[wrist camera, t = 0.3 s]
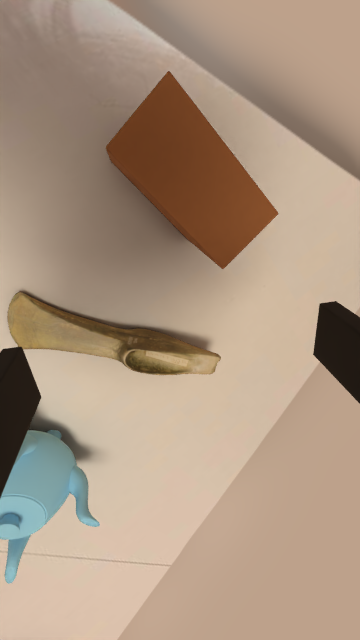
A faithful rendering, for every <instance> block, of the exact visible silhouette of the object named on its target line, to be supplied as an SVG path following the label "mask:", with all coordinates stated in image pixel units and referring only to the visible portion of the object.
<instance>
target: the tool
mask: <svg viewBox="0 0 360 640" xmlns="http://www.w3.org/2000/svg"><path fill="white" fill-rule="evenodd" d="M7 318H8V324H9V329H10V333H11V335H12V337H13V339H14V341H15V342H16V343H17V345H18V347H22V349H52V350H61V351H69V352H77V353H84V354H90V355H96V356H101V357H108V358H112V359H115V360H118V361H120V362H122V363H123V364H124V365H125V366H126V367H128V368H129V369H131V370H133V371H137V372H140V373H146V374H154V375H177V374H212V373H213V372H215V368H216V365H217V363H218V361H220V359H221V357H220V356H219V355H218V354H216V353H213V352H210V351H207V350H204V349H201V348H198V347H195V346H193V345H190V344H188V343H185V342H183V341H181V340H178V339H176V338H174V337H171V336H169V335H166V334H163V333H160V332H157V331H152V330H148V329H142V328H136V329H132V330H127V329H120V328H115V327H112V326H108V325H106V324H102V323H99V322H96V321H92V320H89V319H85V318H82V317H79V316H76V315H73V314H69V313H67V312H64V311H61V310H58V309H56V308H53V307H51V306H49V305H47V304H44V303H42V302H40V301H38V300H36V299H34V298H32V297H30V296H28V295H26V294H24V293H22V292H19V293H17V294H16V295H15V296H14V298H13V299H12V301H11V303H10V305H9V310H8V316H7Z"/></svg>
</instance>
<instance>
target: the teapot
mask: <svg viewBox="0 0 360 640" xmlns="http://www.w3.org/2000/svg"><path fill="white" fill-rule="evenodd" d="M60 439H61V433H60V432H59V431H57V430H49V431H47V432H42V431H36V430H28V431H27V434H26V436H25V439H24V441H23V443H22V446H21V448H20V451H19V453H18V456H17V458H16V461H15V463H14V466H13V468H12V471H11V473H10V475H9V478H8V480H7V483H6V485H5V488H4V490H3V493H2V495H1V498H0V539H4V540H6V539H9V542H8V556H7V564H6V570H5V580H6V582H7V583H12V582H13V581H14V579H15V577H16V574H17V569H18V565H19V561H20V558H21V555H22V553H23V550H24V548H25V546H26V544H27V542H28V540H29V537H30V535H31V534H33V533H35V532H36V531H38V530H39V529H40V528H42V527H43V526H44V525H45V524H46V523H47V522H48V521H49V520H50V519H51V518H52V517H53V515H54V514H55V513H56V512H57V511H58V510H59V508H60V507H61V506H62V504H63V503H64V502H65V500H66V498H67V497H68V495H69V493H71V494H72V495H74V497H75V498H76V514H77V517H78V519H79V520H80V521H81V522H82V523H84V524H86V525H89V526H94V527H97V526H99V525H100V524H99V522H98V521H97V520H96V519H95V518H94V517H93V516H92V515H91V514H90V512H89V509H88V480H87V477H86V475H85V473H84V472H83V471H82V470H81V469H80V468H79V467H78V466H77V463H76V459H75V456H74V454H73V452H72V451H71V449H70V448H69V447H68V446H67V445H66V444H65V443H64V442H63V441H61V440H60Z"/></svg>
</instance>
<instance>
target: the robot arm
mask: <svg viewBox="0 0 360 640" xmlns="http://www.w3.org/2000/svg"><path fill="white" fill-rule="evenodd" d="M313 355H314V356H315V357H316V358H317V359H318V360H319V361H320V362H321V363H322V364H323V365H324V366H325V367H326V368H327V369H328V371H329V372H330V373H331V374H332V375H333V376H334V377H335V378H336V379H337V380H338V381H339V382H340V383H341V384H342V385H343V386H344V387H345V389H346V390H347V391H348V392H349V393H350V394H351V395H352V396H353V397H354V398H355V399H356V400H357V401H358V402H359V403H360V317H358V316H357V315H356V314H354V313H353V312H351V311H350V310H348V309H347V308H345V307H344V306H342V305H341V304H339V303H338V302H336V301H335V302H328V303H321V304H320V306H319V314H318V322H317V330H316V338H315V346H314V353H313ZM40 399H41V395H40V392H39V390H38V387H37V385H36V382H35V380H34V377H33V374H32V372H31V369H30V367H29V364H28V362H27V359H26V356H25V354H24V351H23V349H22V347H15V348H8V349H3V350H2V351H1V353H0V498H1V495H2V493H3V490H4V488H5V485H6V483H7V480H8V478H9V475H10V473H11V471H12V468H13V466H14V463H15V461H16V458H17V456H18V453H19V451H20V448H21V446H22V443H23V441H24V439H25V436H26V434H27V431H28V429H29V426H30V424H31V421H32V419H33V416H34V414H35V411H36V409H37V406H38V404H39V402H40Z"/></svg>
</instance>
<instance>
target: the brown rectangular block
mask: <svg viewBox="0 0 360 640" xmlns="http://www.w3.org/2000/svg"><path fill="white" fill-rule="evenodd" d="M106 150H107V152H108V155H109V158H110V160H111V162H112V163H113V164H114V165H115V166H116V167H117V168H118V169H119V170H120V171H121V172H122V173H123V174H124V175H125V176H126V177H127V178H128V179H129V180H130V181H131V182H132V183H133V184H134V185H135V186H136V187H137V188H138V189H139V190H140V191H141V192H142V193H143V194H144V195H145V196H146V197H147V199H148V200H149V201H150V202H151V203H152V204H153V205H154V206H155V207H156V208H157V209H158V210H159V211H160V212H161V213H162V214H163V215H164V216H165V217H166V218H167V219H168V220H169V221H170V222H171V223H172V224H173V225H174V226H175V227H176V228H177V229H178V230H179V231H180V232H181V233H182V234H183V235H184V236H185V237H186V238H187V239H188V240H189V241H190V242H191V243H192V244H194V245H195V246H196V247H197V248H198V249H200V250H201V251H202V252H203V253H204V254H205V255H207V256H208V257H209V258H210V259H211V260H212V261H214V262H215V263H216V264H217V265H218V266H219V267H221V268H222V269H224V268H225V267H226V266H227V265H228V264H229V263H230V262H231V261H232V260H233V259H234V258H235V257H236V256H237V255H238V254H239V253H240V252H241V251H242V250H243V249H244V248H245V247H246V246H247V245H248V244H249V243H250V242H251V241H252V240H253V239H254V238H255V237H256V236H257V235H258V234H259V233H260V232H261V231H262V230H263V229H264V228H265V227H266V226H267V225H268V224H269V223H270V222H271V221H272V220H273V219H274V218H275V217H276V216H277V215H278V212H277V211H276V209H275V208H274V207H273V205H272V204H271V203H270V202H269V200H268V199H267V198H266V196H265V195H264V194H263V192H262V191H261V190H260V189H259V187H258V186H257V185H256V183H255V182H254V181H253V179H252V178H251V177H250V176H249V174H248V173H247V172H246V170H245V169H244V168H243V166H242V165H241V164H240V162H239V161H238V160H237V159H236V157H235V156H234V155H233V153H232V152H231V151H230V149H229V148H228V147H227V146H226V144H225V143H224V142H223V140H222V139H221V138H220V136H219V135H218V134H217V132H216V131H215V130H214V129H213V127H212V126H211V125H210V123H209V122H208V121H207V119H206V118H205V117H204V116H203V114H202V113H201V112H200V110H199V109H198V108H197V106H196V105H195V104H194V103H193V101H192V100H191V99H190V97H189V96H188V95H187V93H186V92H185V91H184V89H183V88H182V87H181V86H180V84H179V83H178V82H177V80H176V79H175V78H174V76H173V75H172V74H171V73H170V72H169V71H168V72H167V73H166V74H165V76H164V77H163V78H162V79H161V80H160V82H159V83H158V84H157V85H156V87H155V88H154V89H153V90H152V91H151V93H150V94H149V95H148V96H147V98H146V99H145V100H144V101H143V102H142V104H141V105H140V106H139V107H138V108H137V110H136V111H135V112H134V113H133V115H132V116H131V117H130V118H129V119H128V121H127V122H126V123H125V124H124V125H123V127H122V128H121V129H120V130H119V132H118V133H117V134H116V135H115V136H114V138H113V139H112V140H111V141H110V142H109V144H108V145H107V146H106Z"/></svg>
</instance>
